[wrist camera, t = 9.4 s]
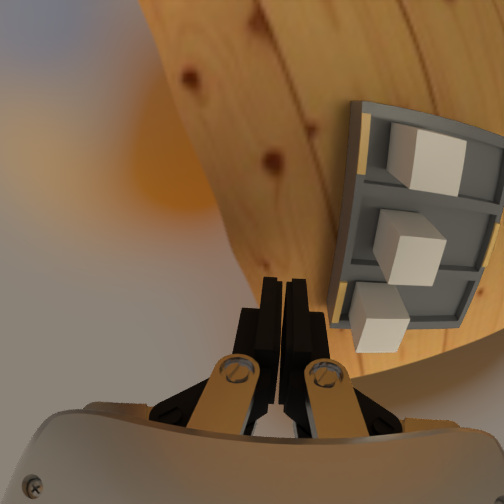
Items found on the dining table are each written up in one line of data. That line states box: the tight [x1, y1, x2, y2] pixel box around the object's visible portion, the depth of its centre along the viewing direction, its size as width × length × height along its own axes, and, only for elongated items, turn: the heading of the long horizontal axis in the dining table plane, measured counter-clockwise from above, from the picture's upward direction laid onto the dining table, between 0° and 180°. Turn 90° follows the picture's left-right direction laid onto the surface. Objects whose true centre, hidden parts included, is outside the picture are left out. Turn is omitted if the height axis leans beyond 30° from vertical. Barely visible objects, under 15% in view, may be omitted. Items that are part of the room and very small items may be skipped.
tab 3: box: [348, 282, 410, 353], centre depth 19 cm, size 3×3×4 cm
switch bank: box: [327, 101, 504, 329], centre depth 19 cm, size 12×16×4 cm
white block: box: [372, 209, 447, 286], centre depth 16 cm, size 3×3×4 cm
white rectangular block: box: [386, 122, 467, 197], centre depth 14 cm, size 3×3×4 cm
